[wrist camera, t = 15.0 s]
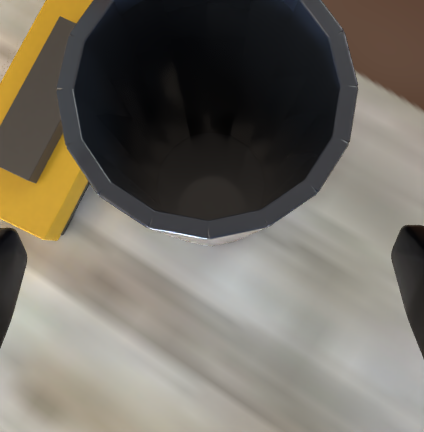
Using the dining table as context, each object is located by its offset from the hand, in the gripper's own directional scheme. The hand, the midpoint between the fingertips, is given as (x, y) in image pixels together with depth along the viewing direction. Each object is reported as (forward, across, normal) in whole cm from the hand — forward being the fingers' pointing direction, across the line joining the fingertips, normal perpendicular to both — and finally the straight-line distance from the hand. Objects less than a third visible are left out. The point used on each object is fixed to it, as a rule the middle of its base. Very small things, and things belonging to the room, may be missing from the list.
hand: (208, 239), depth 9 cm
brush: (+13, +8, +3) cm, 15 cm away
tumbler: (+10, 0, +6) cm, 12 cm away
